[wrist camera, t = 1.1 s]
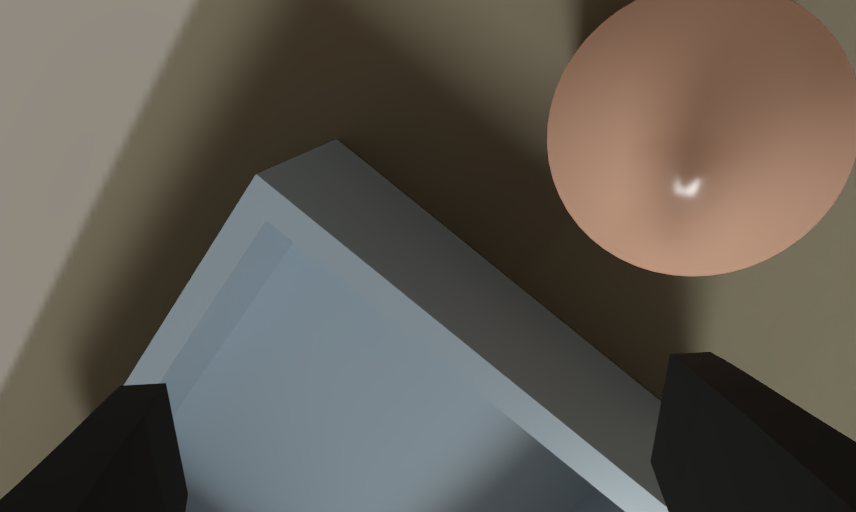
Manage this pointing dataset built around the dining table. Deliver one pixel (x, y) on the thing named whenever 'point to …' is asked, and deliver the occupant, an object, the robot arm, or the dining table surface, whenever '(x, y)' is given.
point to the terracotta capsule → (703, 132)
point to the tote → (384, 367)
